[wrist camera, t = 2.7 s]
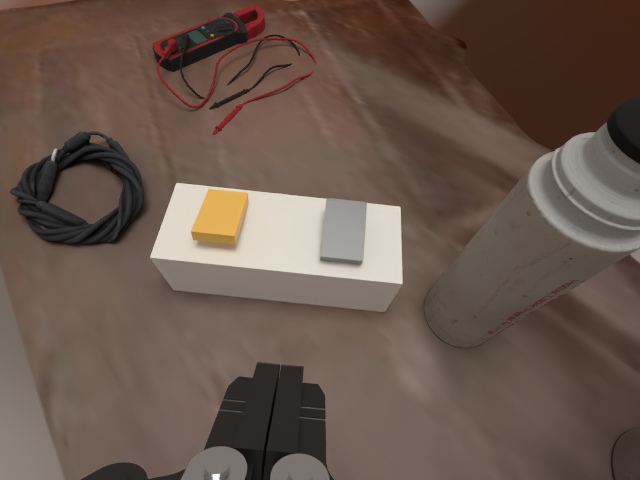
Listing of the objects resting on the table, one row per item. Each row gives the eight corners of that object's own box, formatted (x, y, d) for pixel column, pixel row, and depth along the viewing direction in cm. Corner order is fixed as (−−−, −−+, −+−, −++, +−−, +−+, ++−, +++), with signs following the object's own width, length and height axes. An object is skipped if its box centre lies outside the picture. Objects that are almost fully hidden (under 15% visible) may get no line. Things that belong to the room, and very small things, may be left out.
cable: (169, 220, 47) (158, 200, 43) (53, 279, 42) (29, 261, 39) (116, 137, 54) (102, 113, 50) (9, 180, 49) (-14, 157, 45)
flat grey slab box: (364, 209, 38) (367, 202, 37) (360, 265, 37) (363, 260, 35) (325, 204, 38) (326, 198, 37) (320, 261, 37) (320, 256, 35)
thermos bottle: (506, 333, 42) (795, 165, 18) (446, 359, 40) (678, 211, 16) (468, 272, 46) (664, 64, 21) (411, 293, 44) (556, 92, 20)
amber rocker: (248, 205, 39) (247, 193, 38) (236, 248, 35) (234, 236, 34) (211, 201, 39) (208, 188, 38) (193, 243, 35) (190, 231, 34)
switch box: (384, 240, 47) (400, 203, 40) (384, 312, 42) (402, 284, 36) (194, 220, 47) (177, 180, 40) (173, 290, 42) (150, 257, 35)
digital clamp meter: (120, 35, 59) (251, -13, 68) (131, 62, 63) (254, 13, 72) (201, 119, 50) (338, 52, 60) (208, 143, 54) (335, 77, 63)
